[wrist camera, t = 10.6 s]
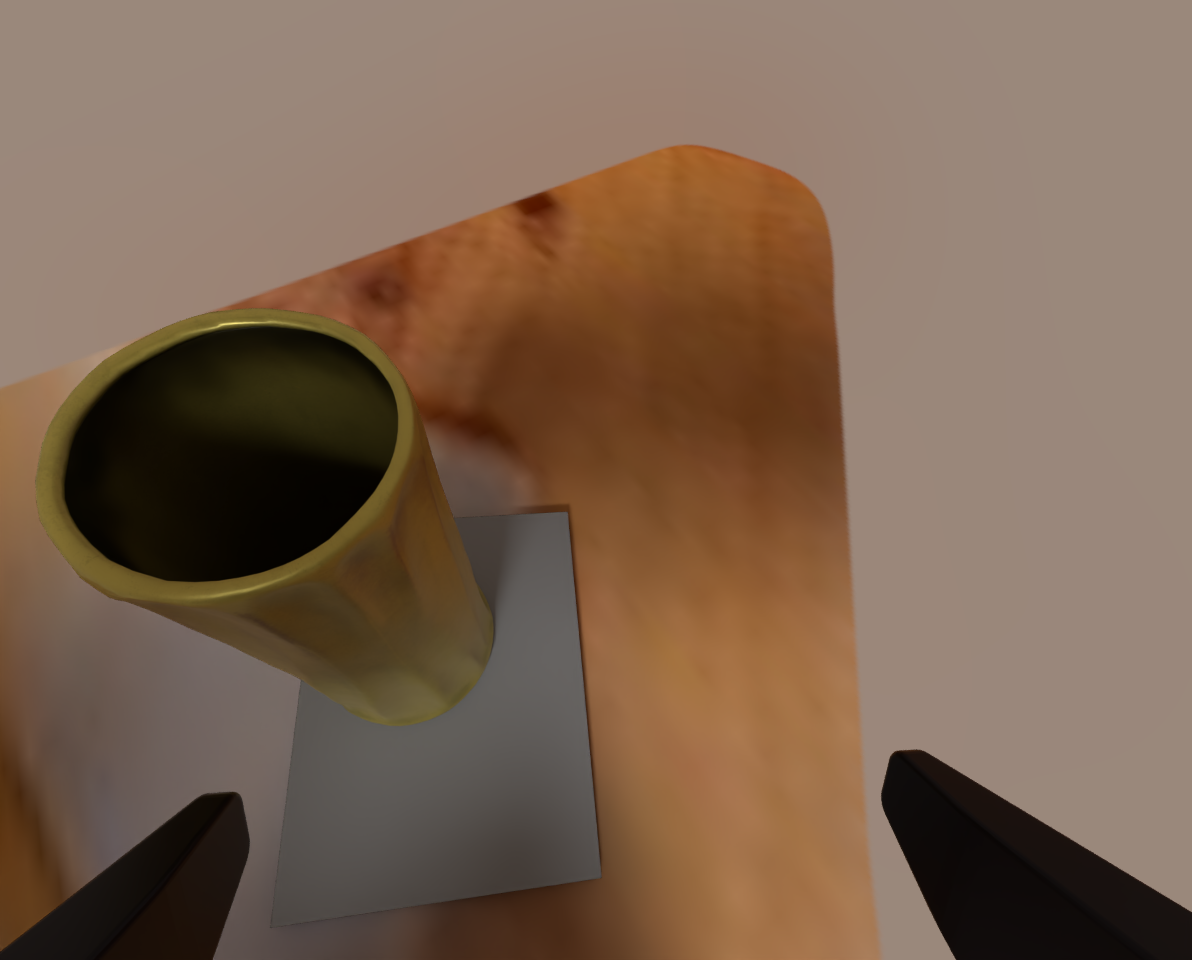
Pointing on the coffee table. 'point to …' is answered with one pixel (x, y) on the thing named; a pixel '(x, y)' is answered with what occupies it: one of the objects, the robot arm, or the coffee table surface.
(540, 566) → the mat
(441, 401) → the coffee table surface
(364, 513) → the vase
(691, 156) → the coffee table surface
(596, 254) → the coffee table surface
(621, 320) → the coffee table surface
